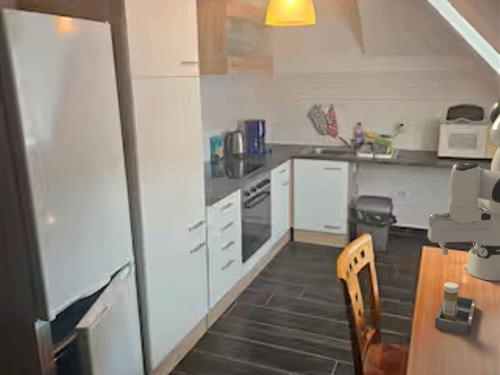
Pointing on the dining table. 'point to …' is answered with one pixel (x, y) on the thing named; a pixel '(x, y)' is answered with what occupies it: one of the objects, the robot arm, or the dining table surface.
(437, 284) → the dining table surface
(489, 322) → the dining table surface
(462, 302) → the grey divided tray
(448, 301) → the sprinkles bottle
